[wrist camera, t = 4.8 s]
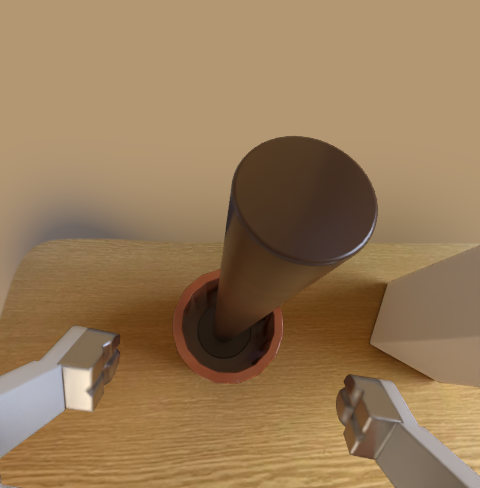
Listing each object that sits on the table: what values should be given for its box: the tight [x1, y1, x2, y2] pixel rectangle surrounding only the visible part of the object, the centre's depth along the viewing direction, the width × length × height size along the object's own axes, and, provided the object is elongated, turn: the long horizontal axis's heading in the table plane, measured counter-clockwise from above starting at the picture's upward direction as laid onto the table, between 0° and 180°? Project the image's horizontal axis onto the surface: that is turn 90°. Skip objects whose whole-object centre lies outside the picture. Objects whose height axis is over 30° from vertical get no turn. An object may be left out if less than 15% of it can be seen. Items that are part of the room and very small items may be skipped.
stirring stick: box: [197, 136, 378, 359], centre depth 14 cm, size 5×5×22 cm
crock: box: [172, 269, 283, 384], centre depth 21 cm, size 7×7×8 cm
